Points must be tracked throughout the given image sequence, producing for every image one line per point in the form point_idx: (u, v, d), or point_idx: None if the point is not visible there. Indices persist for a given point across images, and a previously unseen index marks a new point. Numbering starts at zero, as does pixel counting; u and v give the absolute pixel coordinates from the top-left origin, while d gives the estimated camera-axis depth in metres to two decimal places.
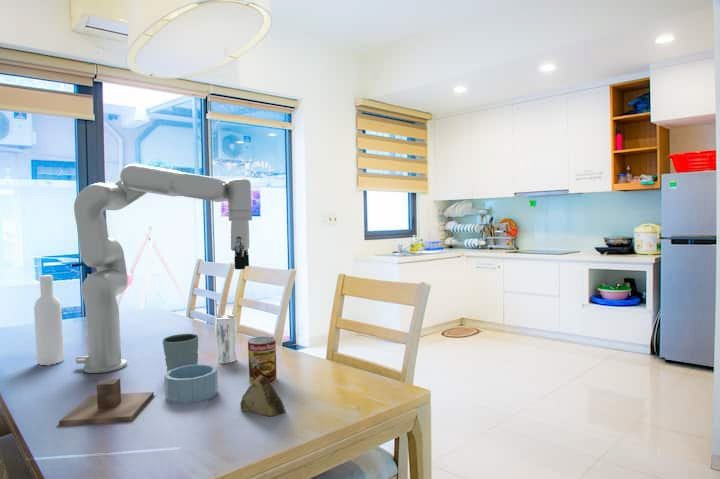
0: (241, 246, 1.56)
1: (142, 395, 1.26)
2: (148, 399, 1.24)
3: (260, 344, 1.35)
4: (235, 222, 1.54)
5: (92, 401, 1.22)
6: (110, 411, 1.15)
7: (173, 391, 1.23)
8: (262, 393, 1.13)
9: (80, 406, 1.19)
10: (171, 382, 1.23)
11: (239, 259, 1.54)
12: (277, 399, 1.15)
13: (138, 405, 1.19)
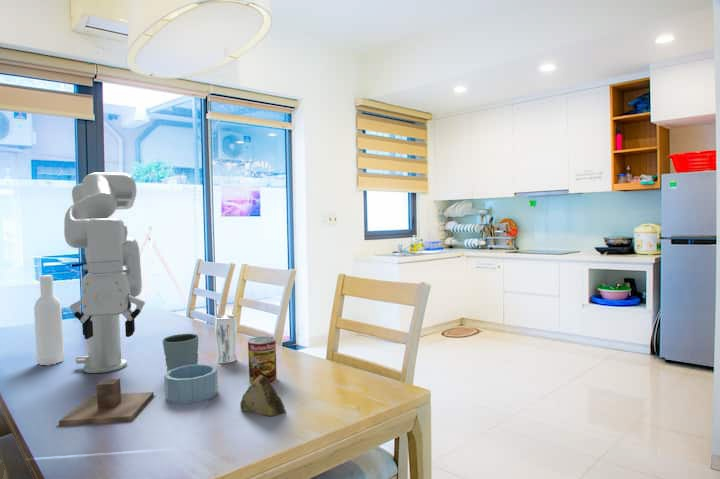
0: None
1: (142, 395, 1.26)
2: (148, 399, 1.24)
3: (260, 344, 1.35)
4: (124, 275, 1.18)
5: (92, 401, 1.22)
6: (110, 411, 1.15)
7: (173, 391, 1.23)
8: (262, 393, 1.13)
9: (80, 406, 1.19)
10: (171, 382, 1.23)
11: (133, 322, 1.20)
12: (277, 399, 1.15)
13: (138, 405, 1.19)
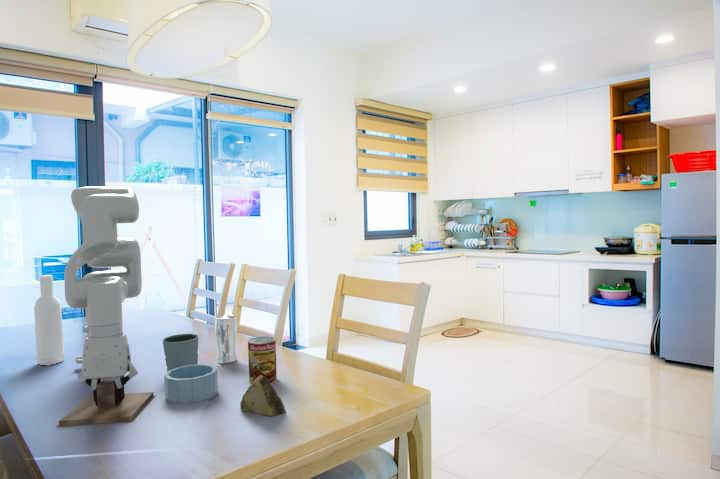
0: None
1: (142, 395, 1.26)
2: (148, 399, 1.24)
3: (260, 344, 1.35)
4: (124, 337, 1.18)
5: (92, 401, 1.22)
6: (110, 411, 1.15)
7: (173, 391, 1.23)
8: (262, 393, 1.13)
9: (80, 406, 1.19)
10: (171, 382, 1.23)
11: (122, 389, 1.19)
12: (277, 399, 1.15)
13: (138, 405, 1.19)
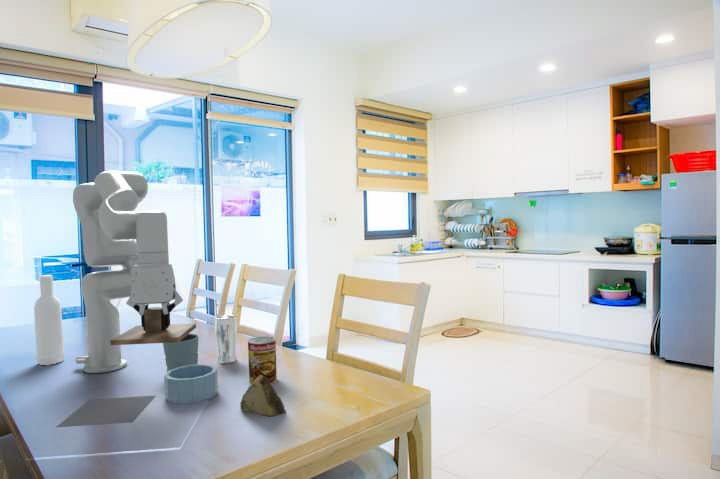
0: None
1: (185, 325, 1.30)
2: (191, 328, 1.29)
3: (260, 344, 1.35)
4: (170, 265, 1.23)
5: (138, 329, 1.27)
6: (157, 334, 1.20)
7: (173, 391, 1.23)
8: (262, 393, 1.13)
9: (128, 332, 1.24)
10: (171, 382, 1.23)
11: (168, 316, 1.24)
12: (277, 399, 1.15)
13: (183, 331, 1.23)
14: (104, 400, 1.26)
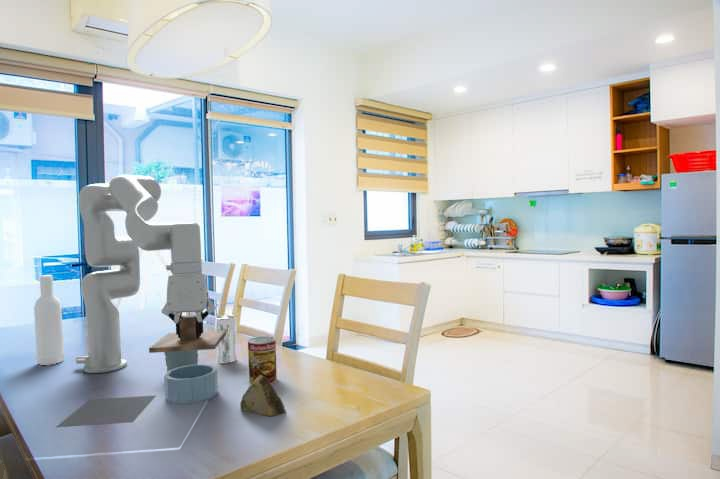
0: None
1: (216, 332, 1.35)
2: (223, 335, 1.33)
3: (260, 344, 1.35)
4: (204, 275, 1.27)
5: (171, 336, 1.31)
6: (193, 342, 1.24)
7: (173, 391, 1.23)
8: (262, 393, 1.13)
9: (163, 339, 1.28)
10: (171, 382, 1.23)
11: (202, 324, 1.29)
12: (277, 399, 1.15)
13: (217, 338, 1.28)
14: (104, 400, 1.26)
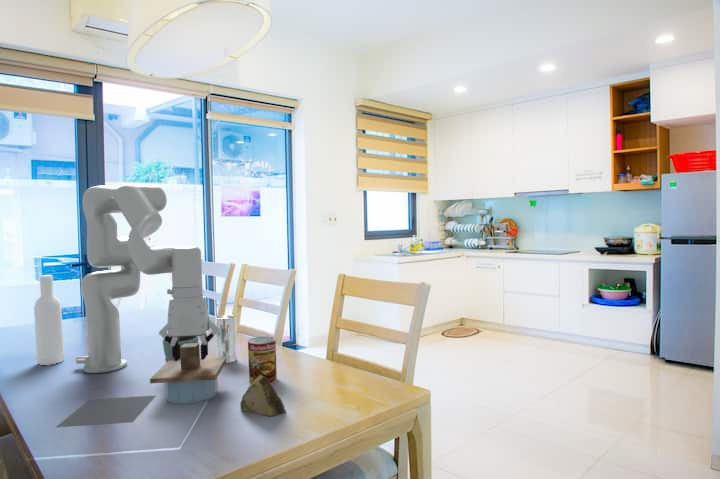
0: None
1: (217, 359, 1.35)
2: (223, 363, 1.33)
3: (260, 344, 1.35)
4: (204, 299, 1.28)
5: (172, 364, 1.32)
6: (194, 371, 1.25)
7: (173, 391, 1.23)
8: (262, 393, 1.13)
9: (163, 368, 1.28)
10: (171, 382, 1.23)
11: (207, 346, 1.29)
12: (277, 399, 1.15)
13: (217, 367, 1.28)
14: (104, 400, 1.26)
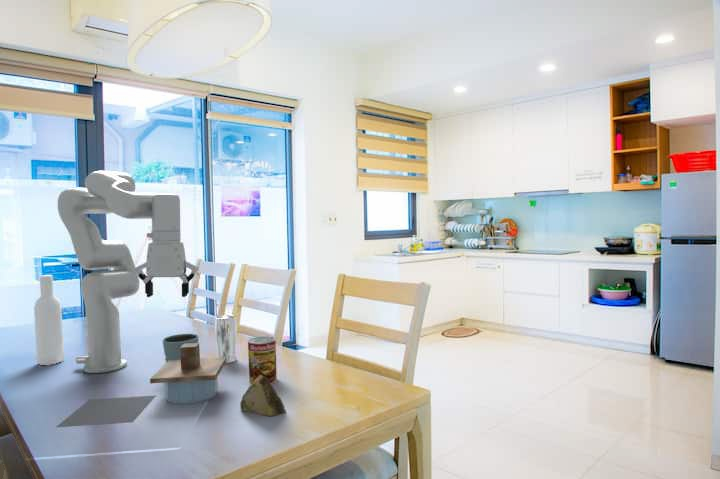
0: None
1: (217, 359, 1.35)
2: (223, 363, 1.33)
3: (260, 344, 1.35)
4: (182, 243, 1.36)
5: (172, 364, 1.32)
6: (194, 371, 1.25)
7: (173, 391, 1.23)
8: (262, 393, 1.13)
9: (163, 368, 1.28)
10: (171, 382, 1.23)
11: (188, 285, 1.38)
12: (277, 399, 1.15)
13: (217, 367, 1.28)
14: (104, 400, 1.26)
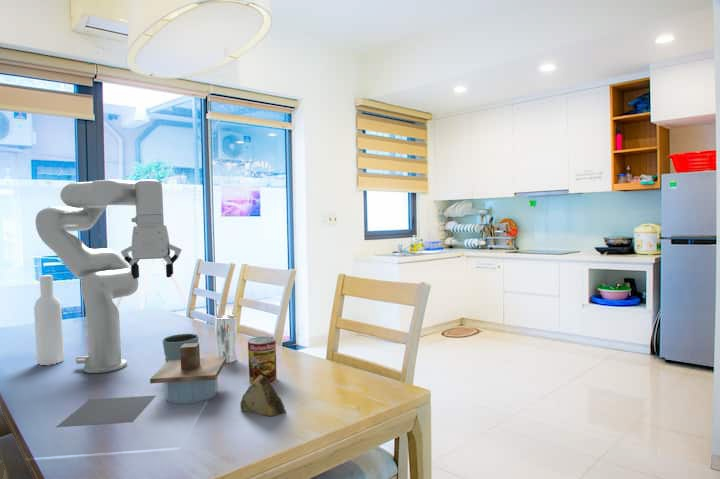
0: None
1: (217, 359, 1.35)
2: (223, 363, 1.33)
3: (260, 344, 1.35)
4: (165, 227, 1.44)
5: (172, 364, 1.32)
6: (194, 371, 1.25)
7: (173, 391, 1.23)
8: (262, 392, 1.13)
9: (163, 368, 1.28)
10: (171, 382, 1.23)
11: (172, 266, 1.46)
12: (277, 399, 1.15)
13: (217, 367, 1.28)
14: (104, 400, 1.26)
